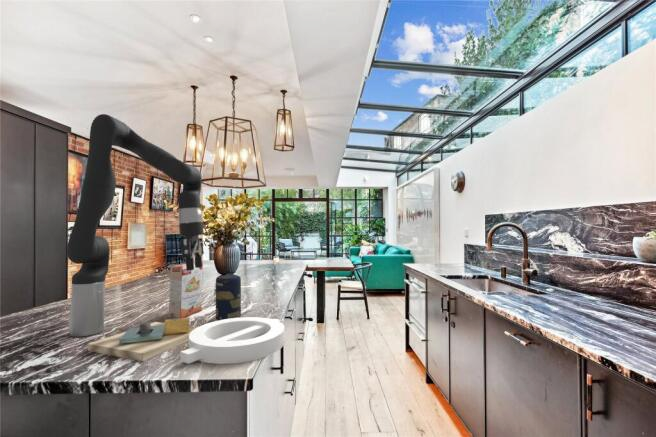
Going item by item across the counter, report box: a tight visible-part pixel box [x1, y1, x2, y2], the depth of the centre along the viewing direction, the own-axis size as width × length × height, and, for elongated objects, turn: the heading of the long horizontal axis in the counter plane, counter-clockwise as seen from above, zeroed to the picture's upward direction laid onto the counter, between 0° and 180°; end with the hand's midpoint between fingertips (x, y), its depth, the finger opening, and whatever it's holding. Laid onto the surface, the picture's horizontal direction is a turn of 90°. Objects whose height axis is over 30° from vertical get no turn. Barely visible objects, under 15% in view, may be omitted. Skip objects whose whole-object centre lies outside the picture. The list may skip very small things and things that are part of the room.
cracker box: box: [168, 262, 204, 319], centre depth 130 cm, size 14×6×21 cm, turn 168°
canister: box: [215, 273, 242, 321], centre depth 122 cm, size 10×10×18 cm
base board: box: [87, 312, 198, 362], centre depth 97 cm, size 22×23×6 cm
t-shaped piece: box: [119, 316, 190, 344], centre depth 97 cm, size 18×11×4 cm, turn 110°
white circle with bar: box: [180, 316, 286, 365], centre depth 95 cm, size 28×28×5 cm
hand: (194, 268), depth 106 cm, fingers open, 8 cm apart
